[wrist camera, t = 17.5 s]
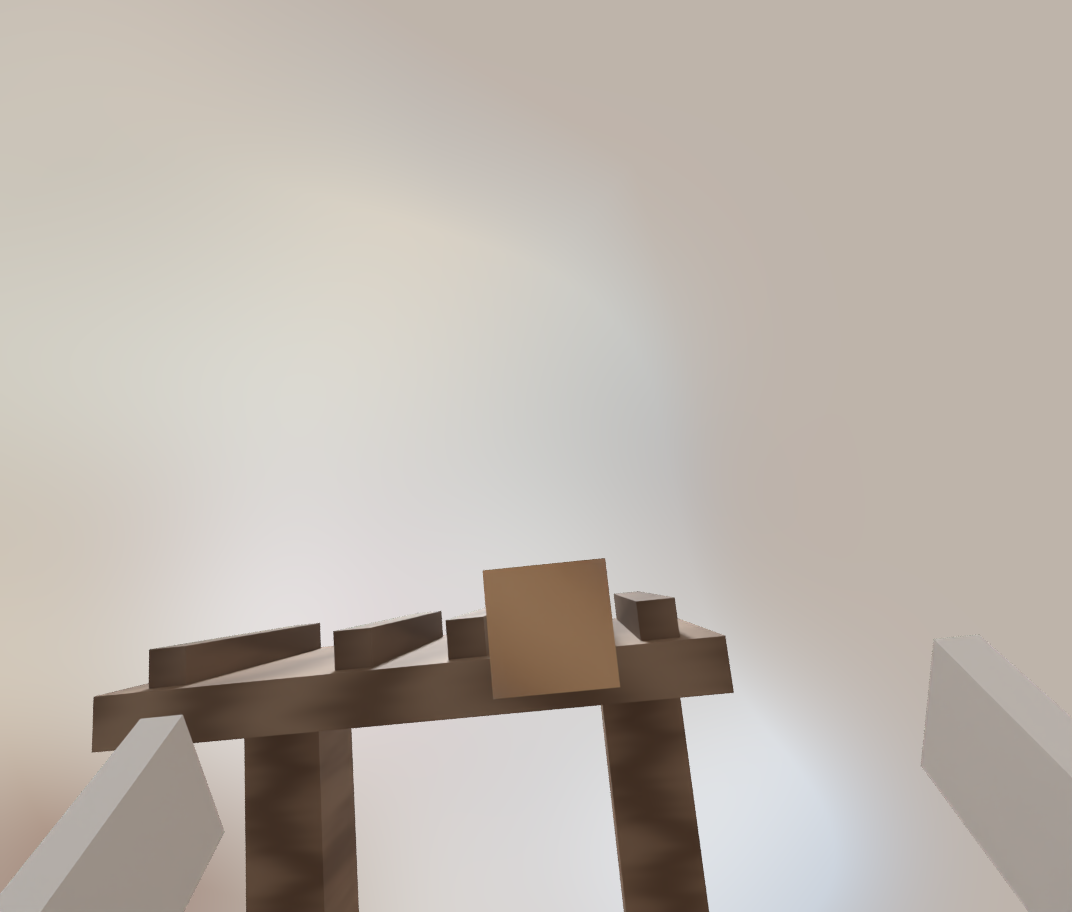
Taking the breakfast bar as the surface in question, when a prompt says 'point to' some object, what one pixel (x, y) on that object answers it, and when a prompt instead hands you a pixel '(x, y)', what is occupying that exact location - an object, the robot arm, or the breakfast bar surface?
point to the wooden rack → (416, 696)
